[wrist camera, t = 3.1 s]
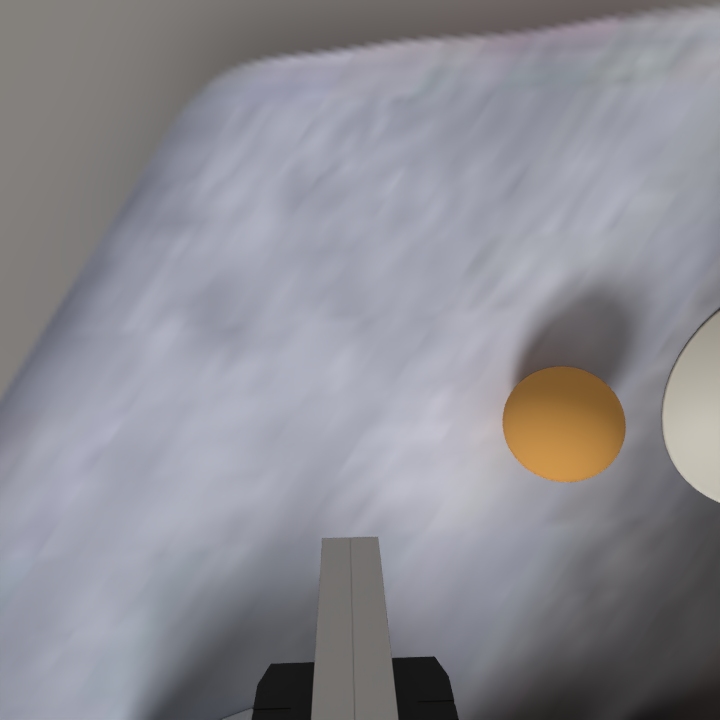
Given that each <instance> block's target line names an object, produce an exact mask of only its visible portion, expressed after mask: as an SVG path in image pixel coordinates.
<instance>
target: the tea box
mask: <svg viewBox="0 0 720 720" xmlns="http://www.w3.org/2000/svg"><path fill="white" fill-rule="evenodd" d="M252 714H253V709H252V708H251V709H248V710H245V711H242V712H240V713H237V714H234V715H232V716H229V717H226V718H224V719H221V720H251V719H252Z"/></svg>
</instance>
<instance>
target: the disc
mask: <svg viewBox="0 0 720 720" xmlns="http://www.w3.org/2000/svg"><path fill="white" fill-rule="evenodd" d="M661 419H662V432H663V437H664V442H665V446H666V448H667V451H668V453H669V456H670V458H671V460H672V462H673V464H674V465H675V467H676V469H677V470H678V471H679V473H680V474H681V475H682V476H683V477H684V479H685V480H686V481H687V482H689V483H690V484H691V485H692V486H693V487H694V488H695V489H697V490H698V491H699V492H701V493H703V494H704V495H706V496H707V497H709V498H711V499H713V500H715V501H717V502H720V310H719V311H718V312H716V313H715V314H714V315H713V316H711V317H710V318H709V319H708V320H707V321H706V322H705V323H704V324H703V325H702V326H701V327H700V328H699V329H698V330H697V332H696V333H695V334H694V335H693V336H692V338H691V339H690V340H689V341H688V343H687V344H686V346H685V347H684V349H683V350H682V352H681V353H680V355H679V356H678V358H677V360H676V362H675V364H674V367H673V369H672V371H671V373H670V376H669V379H668V382H667V384H666V388H665V392H664V397H663V402H662V414H661Z"/></svg>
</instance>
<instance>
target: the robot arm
mask: <svg viewBox="0 0 720 720" xmlns="http://www.w3.org/2000/svg"><path fill="white" fill-rule="evenodd" d="M251 720H459V719H458V715H457V711H456V706H455V704H454V698H453V693H452V689H451V685H450V680H449V676H448V675H447V673H446V672H445V671H444V669H443V668H442V666H441V665H440V664H439V662H438V661H437V659H436V658H435V657H408V658H391V649H390V640H389V631H388V622H387V613H386V604H385V595H384V586H383V577H382V568H381V559H380V550H379V541H378V537H354V538H322V552H321V568H320V584H319V600H318V617H317V633H316V649H315V662H310V663H281V664H271V665H270V666H269V668H268V669H267V671H266V673H265V674H264V676H263V677H262V679H261V680H260V682H259V684H258V686H257V691H256V697H255V702H254V708H253V714H252V719H251Z"/></svg>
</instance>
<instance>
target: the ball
mask: <svg viewBox="0 0 720 720" xmlns="http://www.w3.org/2000/svg"><path fill="white" fill-rule="evenodd" d="M625 428H626V426H625V416H624V412H623V409H622V406H621V404H620V401H619V400H618V398H617V396H616V395H615V393H614V392H613V391H612V389H611V388H610V387H609V386H608V385H607V384H606V383H605V382H603V381H602V380H601V379H600V378H598V377H597V376H595V375H593V374H591V373H589V372H587V371H584V370H581V369H578V368H572V367H564V366H559V367H550V368H545V369H542V370H539V371H536V372H534V373H532V374H531V375H529V376H527V377H526V378H525V379H523V380H522V381H521V382H520V383H519V384H518V385H517V386H516V387H515V388H514V390H513V391H512V392H511V394H510V396H509V397H508V399H507V402H506V404H505V408H504V413H503V431H504V436H505V439H506V442H507V444H508V446H509V448H510V450H511V452H512V453H513V455H514V456H515V458H516V459H517V460H518V461H519V462H520V463H521V464H522V465H523V466H524V467H525V468H527V469H528V470H529V471H531V472H533V473H534V474H536V475H538V476H540V477H543V478H545V479H549V480H552V481H558V482H576V481H581V480H584V479H587V478H590V477H593V476H595V475H597V474H598V473H600V472H602V471H603V470H604V469H606V468H607V467H608V466H609V465H610V464H611V463H612V462H613V461H614V459H615V458H616V456H617V455H618V453H619V451H620V449H621V447H622V444H623V441H624V437H625Z"/></svg>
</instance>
